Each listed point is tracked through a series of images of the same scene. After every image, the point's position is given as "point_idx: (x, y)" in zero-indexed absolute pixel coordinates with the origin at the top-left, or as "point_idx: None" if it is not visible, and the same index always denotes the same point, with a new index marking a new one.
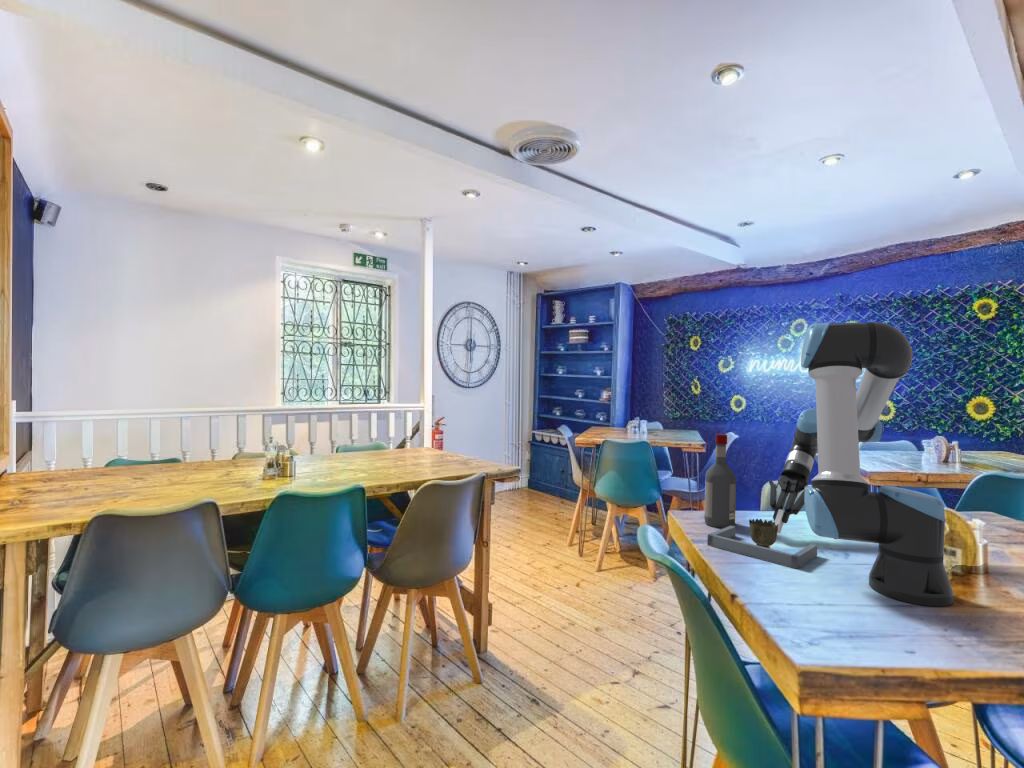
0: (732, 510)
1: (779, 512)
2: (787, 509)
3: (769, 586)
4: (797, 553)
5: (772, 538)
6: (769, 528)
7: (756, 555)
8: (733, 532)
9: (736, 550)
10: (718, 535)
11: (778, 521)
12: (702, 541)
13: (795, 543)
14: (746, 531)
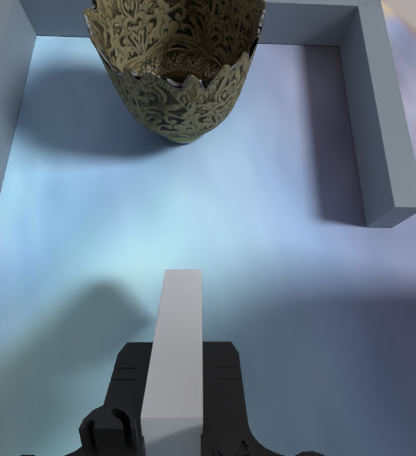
0: None
1: (183, 376)
2: (94, 419)
3: None
4: (2, 11)
5: (122, 47)
6: None
7: None
8: (374, 193)
9: None
10: (358, 39)
11: (172, 305)
12: (396, 55)
13: (95, 363)
14: (389, 381)
